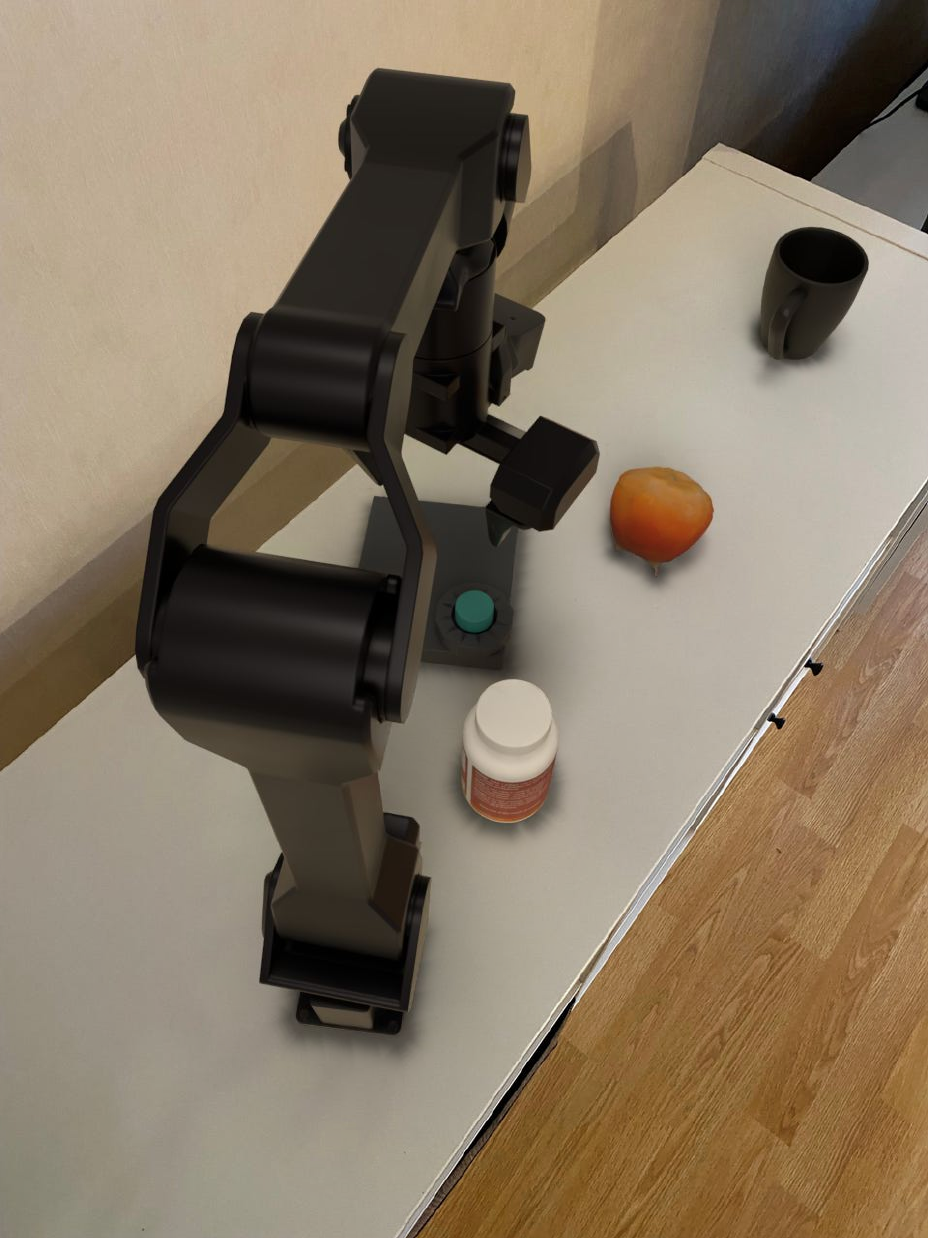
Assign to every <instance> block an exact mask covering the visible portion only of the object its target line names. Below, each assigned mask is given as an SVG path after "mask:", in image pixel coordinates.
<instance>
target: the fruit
mask: <svg viewBox="0 0 928 1238" xmlns="http://www.w3.org/2000/svg"><path fill="white" fill-rule="evenodd" d="M714 512H715V508H714V504H713V499H712V498H711V496H710V494H709V493H708V492H707V491H706V490H704V488H703V487H702V486H701V484H699V482H697V481H695V480H694V479H692V478H691V477H690V476H689V475H688V474H686V473H685V472H683V471H681V470H680V471H679V470H677V469H673V468H671V467H663V466H648V467H640V468H639V467H638V468H630V469H628V470H625V471H624V472H622V473H621V474H620V475H619V476H618V479H617V480H616V484H615V485H614V487H613V490H612V494H611V497H610V504H609V523H610V528H611V535H612V538H613V541H614V543H615V544H614V548H615V552H619V551H622V552H623V551H624V552H628V553H630V554H632V555H634V556H637V557H639V558H641V559H642V560H644V561H645V562H647V563H648V564H649V566H651V567H652V568H653V569H654V577H656V578H657V577H658V572H659V566H660V565H661V564H663V563H669V562H672V561H673V560H674V559H675V558H678V557H681V555H683V554H684V553H686V552H687V551H689V550H690V549H691V548H692V547H693V546H694V545H695V544H696V543H697V542H698V541H699V540H700V539H701V538H702V537H703V535H705V533H706V532H707V530H708V528H709V527H710V525H711V524H712V521H713V519H714Z"/></svg>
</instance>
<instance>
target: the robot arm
mask: <svg viewBox="0 0 928 1238" xmlns="http://www.w3.org/2000/svg"><path fill="white" fill-rule="evenodd" d="M515 99H516V89H515V88H514V87H513V84H512V83H510V82H503V81H496V80H495V81H494V80H487V79H477V78H469V77H462V76H461V77H460V76H453V75H444V74H435V73H427V72H418V71H409V70H401V69H393V68H384V67H376V68H374V69H373V71H371V73H370V74H369V75H368V77H367V78H366V80H365V82H364V84H363V86H362V88H361V91H360V94H355V95H353V97H352V99H351V101H350V103H348V104H347V106H346V111H345V112H346V116H345V118H344V119H343V120H342V121H341V123H340V125H339V127H338V134H337V144H338V150H339V152H340V154H341V155H342V156H343V157H344V160H343V161H344V162H343V169H344V172H345V173H346V174H347V177H348V179H349V181H348V183H347V185H346V186H345V188H344V189H343V191H342V192H341V194H340V195H339V198H338V199H337V201H336V202H335V204H334V205H333V207H332V209H331V211H330V212H329V214H328V215H327V217H326V219H325V220H324V222H323V224H322V225H321V227H320V229H319V230H318V232H317V233H316V235H315V237H314V238H313V240H312V242H311V243H310V245H309V247H308V248H307V250H306V251H305V253H304V255H303V256H302V258H301V260H300V261H299V263H298V265H297V266H296V268H295V270H294V271H293V272H292V274H291V276H290V277H289V279H288V281H287V282H286V283H285V286H284V288H283V289H282V291H280V294H279V296H278V297H277V299H276V300H275V302H274V303H273V305H272V306H271V307H270V308H269V309H268V310H267V311H265V312H264V313H262V312H256V311H250V312H249V313H248V314H247V315H245V317H244V318H243V319H242V321H241V323H240V326H239V328H238V330H237V333H236V335H235V340H234V344H233V348H232V353H231V359H230V364H229V365H230V366H229V373H228V379H227V384H226V385H227V386H226V393H225V399H224V406H223V412H222V414H221V416H220V418H219V419H218V420H217V421H216V422H215V424H214V425H213V427H212V428H211V429H210V430H209V431H208V433H207V434H206V435H205V437H204V438H203V439H202V441H201V442H200V443H199V444H198V446H197V447H196V449H195V450H194V452H193V453H192V454H191V455H190V457H188V459H187V460H186V461H185V463H184V464H183V466H182V467H181V468H180V470H179V471H178V472H177V473H176V475H175V476H174V477H173V478H172V480H171V481H170V482H169V484H168V485H167V486H166V488H165V489H164V490H163V491H162V493H161V494H160V496H159V497H158V498H157V501H156V503H155V505H154V508H153V511H152V516H151V523H150V529H149V530H150V531H149V537H148V538H149V539H148V545H147V551H146V558H145V565H144V570H143V571H144V572H143V580H142V585H141V586H142V587H141V592H140V600H139V606H138V613H137V620H136V626H135V641H134V654H135V661H136V668H137V670H138V671H139V673H140V675H141V676H142V678H143V679H144V683H145V689H146V692H147V694H148V697H149V700H150V703H151V705H152V707H153V708H154V710H155V711H156V713H157V714H158V716H159V717H161V719H163V720H164V722H166V723H167V724H168V726H170V727H171V728H172V729H173V730H174V731H175V732H176V733H177V734H178V735H179V736H180V737H181V738H182V739H183V740H184V741H186V742H188V743H190V744H192V745H195V746H196V747H199V748H201V749H203V750H206V751H207V752H210V753H212V754H215V755H217V756H219V757H221V758H223V759H226V760H228V761H230V762H232V763H235V764H237V765H238V766H241V767H244V768H245V769H246V770H247V771H248V774H249V777H250V779H251V781H252V784H253V786H254V788H255V791H256V793H257V795H258V798H259V801H260V803H261V805H262V808H263V810H264V812H265V815H266V817H267V819H268V822H269V824H270V826H271V829H272V831H273V834H274V836H275V838H276V841H277V843H278V845H279V848H280V850H281V852H280V854H279V856H278V858H277V861H276V863H275V864H274V867H273V869H272V870H270V871H268V872H267V873H266V874H265V876H264V880H263V893H262V908H261V909H262V911H261V935H262V937H263V942H262V950H261V951H262V952H261V960H260V961H261V962H260V969H259V979H258V980H259V981H258V984H261V985H265V986H271V987H276V988H281V989H287V990H290V991H296V992H299V996H298V1001H297V1006H296V1011H295V1019H296V1021H297V1023H299V1025H303V1026H308V1027H317V1028H324V1029H325V1028H326V1029H333V1030H338V1031H339V1030H342V1031H346V1032H347V1031H348V1032H356V1033H362V1034H363V1033H364V1034H371V1035H377V1036H386V1037H387V1036H388V1037H397V1036H398V1035H399V1034H400V1033H401V1032H402V1028H403V1023H404V1022H403V1021H404V1016H405V1015H404V1014H405V1013H407V1014H408V1013H409V1012H410V1010H411V1008H412V1006H413V1005H412V1004H413V1000H414V995H415V990H416V985H417V981H418V975H419V971H420V966H421V960H422V955H423V950H424V945H425V939H426V935H427V931H428V923H429V913H430V903H431V902H430V901H431V891H432V878H433V877H432V876H429V875H423V857H422V853H421V847H422V841H420V840H421V839H420V833H421V832H420V831H421V826H420V824H419V823H418V821H417V820H416V818H414V817H413V816H409V815H402V814H397V813H392V812H386V811H384V807H383V801H382V795H381V787H380V780H379V779H380V778H379V771H381V769H382V764H383V761H384V756H385V752H386V750H387V745H388V741H389V736H390V732H391V728H392V725H393V723H395V724H401V725H404V724H405V723H406V721H407V719H408V717H409V715H410V711H411V708H412V705H413V701H414V696H415V692H416V688H417V683H418V678H419V671H420V667H421V655H422V649H423V642H424V636H425V630H426V623H427V617H428V611H429V604H430V598H431V592H432V585H433V579H434V573H435V566H436V560H437V553H436V545H435V542H434V539H433V537H432V534H431V532H430V529H429V526H428V524H427V521H426V518H425V516H424V513H423V511H422V508H421V505H420V503H419V497H418V495H417V493H416V489H415V487H414V485H413V481H412V480H411V475H410V474H409V471H408V469H407V466H406V463H405V461H404V459H403V454H402V453H403V445H404V439H405V435H406V436H408V437H409V438H411V439H413V440H415V441H418V442H420V443H421V444H423V445H425V446H427V447H429V448H431V449H433V450H434V451H435V450H436V451H437V452H439V453H442V454H444V455H445V456H447V455H449V454H450V452H451V451H452V450H453V448H454V447H455V446H456V445H459V446H461V447H464V448H466V449H468V450H469V451H471V452H473V453H475V454H477V455H480V456H481V457H484V458H486V459H487V460H490V461H492V462H493V463H495V464H497V465H498V466H497V469H496V471H495V474H494V475H493V478H492V480H491V482H490V485H489V499H490V501H489V502H488V503H487V504H486V505H485V506H484V507H485V511H486V519H487V527H488V536H489V539H490V542H491V544H492V545H493V546H495V547H498V546H499V545H500V543H501V542H502V541H503V539H504V538H505V537H506V535H507V534H508V532H509V531H510V529H511V528H512V527H513V526H516V527H518V529H520V530H522V531H527V530H528V531H529V530H531V529H533V530H534V531H537V532H539V533H540V532H547V531H552V530H554V529H555V528H556V527H557V525H558V524H559V523H560V521H561V520H562V518H563V517H564V516H565V515H566V513H567V512H568V510H569V509H570V508H571V507H572V506H573V504H574V503H575V501H576V500H577V499H578V498H579V496H580V495H581V494H582V492H583V491H584V490H585V488H586V487H587V485H588V484H589V483H590V482H591V480H592V479H593V478H594V477H595V476H596V474H597V471H598V466H599V461H600V456H601V453H600V448H599V444H598V441H597V440H595V439H593V438H591V437H589V436H587V435H585V434H583V433H580V432H578V431H576V430H574V429H572V428H570V427H568V426H566V425H564V424H562V423H560V422H558V421H555V420H553V419H551V418H549V417H547V416H544V415H539V416H538V417H537V418H536V420H535V421H534V422H533V423H532V425H530V427H529V428H528V429H527V431H525V430H523V429H521V428H519V427H517V426H514V425H512V424H511V423H509V422H507V421H505V420H502V419H501V418H499V417H496V416H494V415H492V414H490V413H489V408H490V407H491V406H492V405H495V406H496V407H501V406H502V405H503V404H504V402H505V401H506V400H507V399H508V398H509V397H510V396H511V387H512V379H513V378H515V377H516V376H518V375H520V374H521V373H523V372H525V371H531V370H532V369H533V367H534V365H535V361H536V357H537V354H538V350H539V346H540V342H541V339H542V336H543V331H544V327H545V324H546V321H547V319H546V316H545V315H544V314H543V313H541V312H539V311H537V310H536V309H532V308H530V307H529V306H526V305H524V304H522V303H520V302H517V301H515V300H512V299H510V298H507V296H503V295H501V294H498V293H497V292H496V273H497V259H498V258H499V257H500V255H501V254H502V252H503V250H504V248H505V247H506V243H507V239H508V236H509V231H510V227H511V222H512V219H513V216H514V212H515V207H516V204H525V203H526V198H527V194H528V190H529V186H530V183H531V178H532V177H531V176H532V153H531V152H532V149H531V133H530V117H529V114H524V113H523V114H522V113H517V112H512V110H513V108H514V105H515ZM271 439H278V440H285V441H291V442H297V443H298V442H299V443H305V444H311V445H317V446H326V447H332V448H339V449H342V450H343V451H344V453H346V454H347V455H348V456H349V457H350V458H351V459H352V460H353V462H355V464H356V465H357V466H359V468H360V469H361V470H362V471H363V472H364V473H365V474H366V475H367V477H369V479H371V481H372V482H373V483H374V484H375V485H377V486H379V487H381V486H383V489H384V491H385V494H386V497H388V500H389V502H390V505H391V507H392V510H393V513H394V515H395V518H396V521H397V523H398V526H399V529H400V531H401V534H402V536H403V539H404V542H405V544H406V550H407V551H406V557H405V564H404V570H403V576H402V578H401V576H400V575H396V574H390V573H385V572H379V571H372V570H366V569H360V568H359V567H354V566H353V567H352V566H348V565H342V564H341V565H340V564H334V563H327V562H322V561H317V560H316V561H315V560H309V559H305V558H304V559H303V558H296V557H291V556H285V555H279V554H272V553H265V552H260V551H253V550H248V549H247V550H246V549H241V548H235V547H228V546H223V545H217V544H209V543H208V537H209V532H210V531H209V530H210V522H211V520H212V518H213V517H214V515H215V514H216V512H218V510H219V509H220V507H221V506H223V504H224V503H225V501H226V500H227V498H228V497H229V496H230V495H231V493H232V492H233V491H234V489H235V488H237V485H239V483H240V482H241V480H242V479H243V478H244V476H245V475H246V474H247V473H248V471H249V470H250V469H251V467H252V466H253V465H254V464H255V463H256V461H257V460H258V459H259V457H260V456H261V455H262V453H263V452H264V451H265V450H266V448H267V447H268V446H269V444H270V442H271ZM303 1013H307V1017H306V1018H304V1019H303V1018H302V1017H301V1016H302V1014H303ZM393 1024H394V1025H395V1024H396V1026H397V1027H396V1029H395V1030H391V1028H390V1026H391V1025H393Z"/></svg>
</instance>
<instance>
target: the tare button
mask: <svg viewBox="0 0 928 1238" xmlns="http://www.w3.org/2000/svg"><path fill="white" fill-rule="evenodd" d="M493 612H494V604H493V601H492V599H491V598H490V596H488V595H487V594H486V593H484V592H482V591H478V590H471V591H467V592H465V593H463V594H462V595H460V596H459V598H458V599H457V601H456V605H455V619H456V622H457V624H458V625H459V627H460V628H462V629H463V630H465V631H467V632H471V633H478V632H482V631H484V630H486V629H487V628H488V627H489V626H490V625H491V623H492V621H493Z"/></svg>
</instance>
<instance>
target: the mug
mask: <svg viewBox="0 0 928 1238" xmlns="http://www.w3.org/2000/svg"><path fill="white" fill-rule="evenodd" d="M773 248H774V249H773V250H772V254H771V257H770V259H769V263H768V265H767V269H766V271H765V276H764V281H763V286H762V292H761V300H760V340H761V343H762V345H763V346H764V347H765V349H766V350H767V351H768V354H769V355H770V357H771V358H773V359H774V360H779V361H780V360H783V359H786V360H795V361H797V360H803V359H807V358H809V357H811V356H813V355H814V354H815V353H816V352H817V351H818V349H819V348H820V347H821V346H822V345H823V344H824V343H825V342H826V341H827V339H828V338H829V337H830V336H831V335H832V334H833V333H834V331H836V329H838V326H839V325H840V324H841V323H842V321H843V320H844V319H845V317H846V315H848V312H849V311H850V309H851V307H852V306H853V304H854V302H855V300H856V298H857V296H858V293H859V292H860V290H861V288H862V285H863V283H864V281H865V278H866V276H867V274H868V271H869V267H870V266H869V265H870V260H869V256H868V253H867V252H866V251H865V249H864V248H863V246H862V245H861V244H860V243H859V242H858V241H856V240H855V239H853V238H852V237H850V236H849V235H847V234H845V233H843V232H840V231H837V230H834V229H831V228H827V227H821V226H805V227H799V228H798V227H797V228H795V229H792V230H790V231H788V232H786V233H784V234H783V235H782V236H781V237H779V238H778V240H777V242H776V243H775V245H774V247H773Z"/></svg>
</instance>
